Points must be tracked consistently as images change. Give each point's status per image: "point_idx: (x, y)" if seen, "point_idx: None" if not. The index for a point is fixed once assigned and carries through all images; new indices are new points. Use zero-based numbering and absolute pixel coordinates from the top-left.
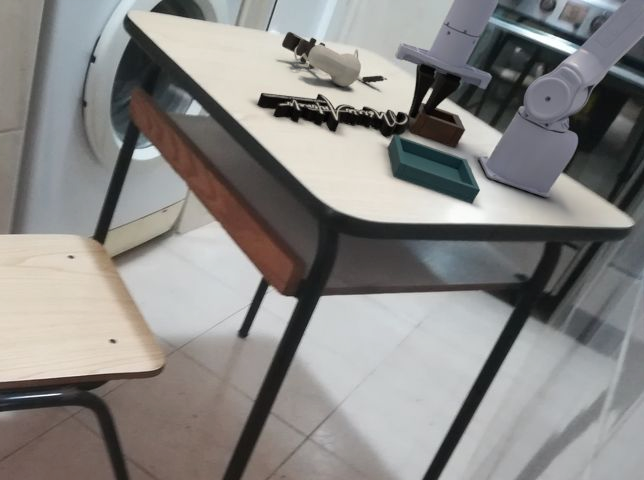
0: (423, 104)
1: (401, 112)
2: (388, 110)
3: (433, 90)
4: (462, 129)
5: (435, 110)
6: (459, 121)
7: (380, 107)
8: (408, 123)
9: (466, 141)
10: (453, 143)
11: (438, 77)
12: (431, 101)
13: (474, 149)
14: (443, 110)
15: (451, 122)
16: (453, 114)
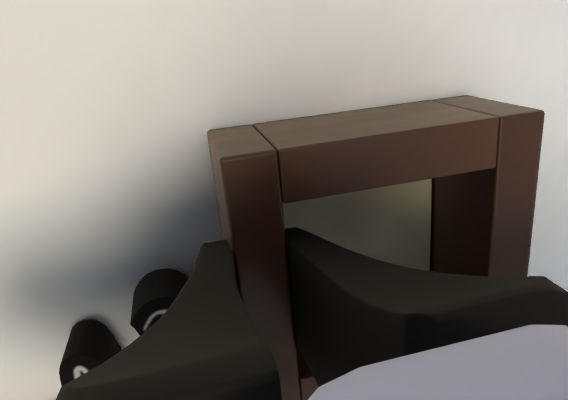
0: (287, 186)
1: (152, 312)
2: (67, 376)
3: (338, 314)
4: None
5: (378, 184)
6: (517, 250)
7: (6, 116)
8: (222, 235)
9: (547, 130)
10: None
11: (384, 331)
12: (323, 369)
13: (560, 210)
14: (440, 139)
15: (473, 210)
16: (506, 143)
